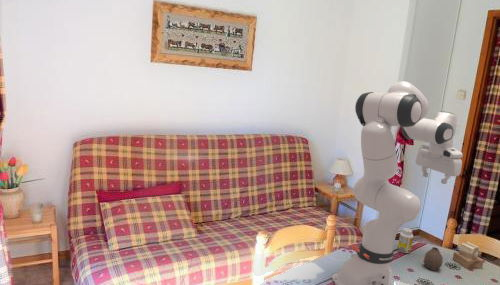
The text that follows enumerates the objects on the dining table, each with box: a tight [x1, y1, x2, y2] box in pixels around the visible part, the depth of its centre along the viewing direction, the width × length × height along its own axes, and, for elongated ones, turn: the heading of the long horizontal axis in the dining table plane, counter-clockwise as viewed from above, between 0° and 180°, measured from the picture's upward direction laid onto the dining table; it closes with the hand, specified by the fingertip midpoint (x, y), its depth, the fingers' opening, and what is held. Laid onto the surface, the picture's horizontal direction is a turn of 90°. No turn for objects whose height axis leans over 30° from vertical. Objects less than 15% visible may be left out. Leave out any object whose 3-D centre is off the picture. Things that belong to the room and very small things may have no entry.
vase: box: [423, 246, 444, 271], centre depth 155 cm, size 7×7×9 cm
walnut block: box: [452, 251, 484, 270], centre depth 162 cm, size 8×8×4 cm
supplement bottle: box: [397, 227, 414, 254], centre depth 169 cm, size 6×6×10 cm
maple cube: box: [458, 241, 480, 260], centre depth 161 cm, size 5×5×5 cm
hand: (434, 180), depth 163 cm, fingers open, 8 cm apart
